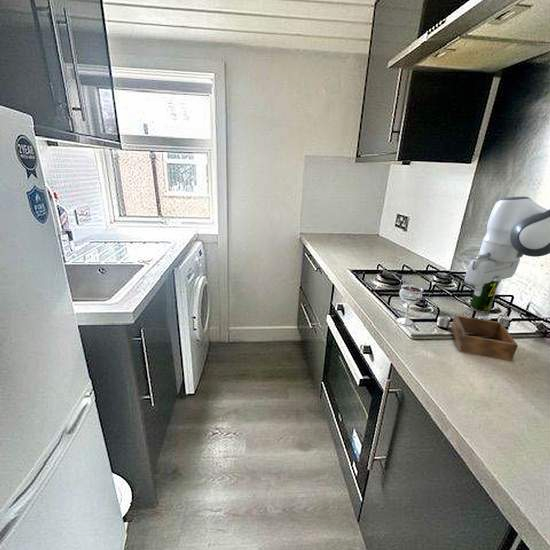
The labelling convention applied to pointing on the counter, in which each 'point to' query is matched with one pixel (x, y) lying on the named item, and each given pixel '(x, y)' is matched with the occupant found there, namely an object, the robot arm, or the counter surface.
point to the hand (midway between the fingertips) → (484, 293)
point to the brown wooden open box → (496, 348)
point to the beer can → (485, 297)
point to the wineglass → (409, 299)
